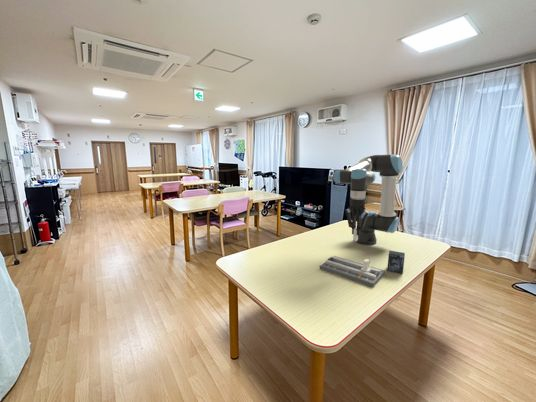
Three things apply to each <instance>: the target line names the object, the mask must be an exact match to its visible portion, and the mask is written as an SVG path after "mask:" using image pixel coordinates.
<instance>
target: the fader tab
mask: <svg viewBox="0 0 536 402" xmlns="http://www.w3.org/2000/svg"><path fill="white" fill-rule="evenodd" d="M362 261H363V262H362V264H363V268H362V269H361V270H362V271H365V272H369V273H370V272H371V269H370V268H369V266H370V259H368V258H365V259H364V260H362Z"/></svg>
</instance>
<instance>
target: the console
mask: <svg viewBox="0 0 536 402" xmlns="http://www.w3.org/2000/svg"><path fill="white" fill-rule="evenodd" d="M362 268H363V263H360V262H357V261H354V260H350V259H348V258H347V259H346V258H343V257H340V256H336V255H333V256H332V255H331V256H330V257H329V258H327V259H326V260H325V262H323V263H322V264H320V265H319V269H320V270H322V271H326V272H328V273H331V274H334V275H336V276H340V277H343V278H345V279H347V280H351V281H355V282H357V283H359V284H363V285H366V286H368V287H371V288H374V287H375V286H376V285H377V284H378V283H379V282H380V280H381V279H382V278H383V277H384V276H385V275H386V270H384V269H381V268H379V267H378V268H377V267H374V266H371V265H369V268H370V269H371V272H370V273H369V272H365V271H362V270H361V269H362Z"/></svg>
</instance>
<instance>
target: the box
mask: <svg viewBox="0 0 536 402" xmlns="http://www.w3.org/2000/svg"><path fill="white" fill-rule="evenodd" d="M405 257H406V255H405V252H402V251H401V252H400V251H396V250H388V260H387V267H386V270H387V272H391V273H392V272H393V273H397V274H401V275H403V274H404V266H405Z"/></svg>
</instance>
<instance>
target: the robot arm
mask: <svg viewBox="0 0 536 402" xmlns="http://www.w3.org/2000/svg"><path fill="white" fill-rule="evenodd" d="M403 167H404V166H403V159H402V156H400V155H399V154H374V155H369V156H366V157H363V158H362V159H360V160H359V161H358V162H357V163H355V164H354V165H351V166H349V167H346V168H345V169H343V170H335V171H334V173H333V177H332V180H333V181H334V183H335V184H344V185H345V184H347V185H348V184H349V185H350V192H349V193H350V197H349V198H350V199H349V206H348V208H347V209H344V212H345V214H346V218H347V219H346V220H347V224H348V227H349V228H350V229H351V234H352V235H353V236H352V237H353V238H352V239H353V242H356V243H358V244H361V245H365V246H366V245H367V246H368V245H369V246H371V245H376V244H377V241H378V240H377V236H376V232H375V231H378V232H384V233H386V234H387V233H388V234H389V233H390V234H393V233H395V232H397V229H398V227H399V222H400V217H398V216H397V213H396V212H395V203H396V202H395V200H396V198H395V197H396V185H397V177H399V174H400V173H402V172H403ZM375 173H378V174H379V177H380V178H381V190H380V209H379V210H380V211H375V210H366V193H367V192H366V191H367V186H369V185H371V184H373V183H374V182H375V180H376V174H375Z"/></svg>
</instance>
